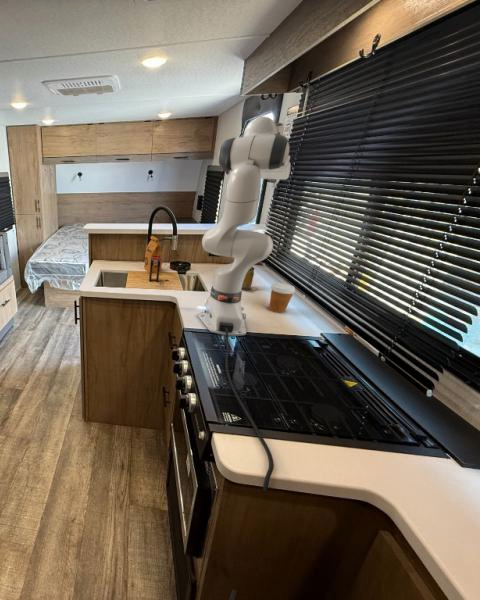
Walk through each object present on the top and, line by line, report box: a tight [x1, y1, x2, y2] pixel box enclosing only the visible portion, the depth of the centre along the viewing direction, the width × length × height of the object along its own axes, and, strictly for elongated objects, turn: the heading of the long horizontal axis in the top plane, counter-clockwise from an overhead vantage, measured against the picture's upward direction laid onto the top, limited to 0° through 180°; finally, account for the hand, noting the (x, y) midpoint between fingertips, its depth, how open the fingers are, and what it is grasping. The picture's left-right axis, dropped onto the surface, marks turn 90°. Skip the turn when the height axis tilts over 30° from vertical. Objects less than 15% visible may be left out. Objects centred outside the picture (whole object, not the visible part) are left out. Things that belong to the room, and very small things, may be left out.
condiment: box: [241, 266, 257, 292], centre depth 166 cm, size 7×8×12 cm
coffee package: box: [144, 235, 163, 274], centre depth 191 cm, size 10×12×22 cm
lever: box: [152, 257, 163, 266], centre depth 168 cm, size 13×5×2 cm, turn 170°
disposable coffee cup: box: [268, 282, 296, 314], centre depth 141 cm, size 10×10×12 cm
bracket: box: [148, 259, 161, 283], centre depth 175 cm, size 11×9×14 cm
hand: (263, 185), depth 156 cm, fingers open, 8 cm apart
